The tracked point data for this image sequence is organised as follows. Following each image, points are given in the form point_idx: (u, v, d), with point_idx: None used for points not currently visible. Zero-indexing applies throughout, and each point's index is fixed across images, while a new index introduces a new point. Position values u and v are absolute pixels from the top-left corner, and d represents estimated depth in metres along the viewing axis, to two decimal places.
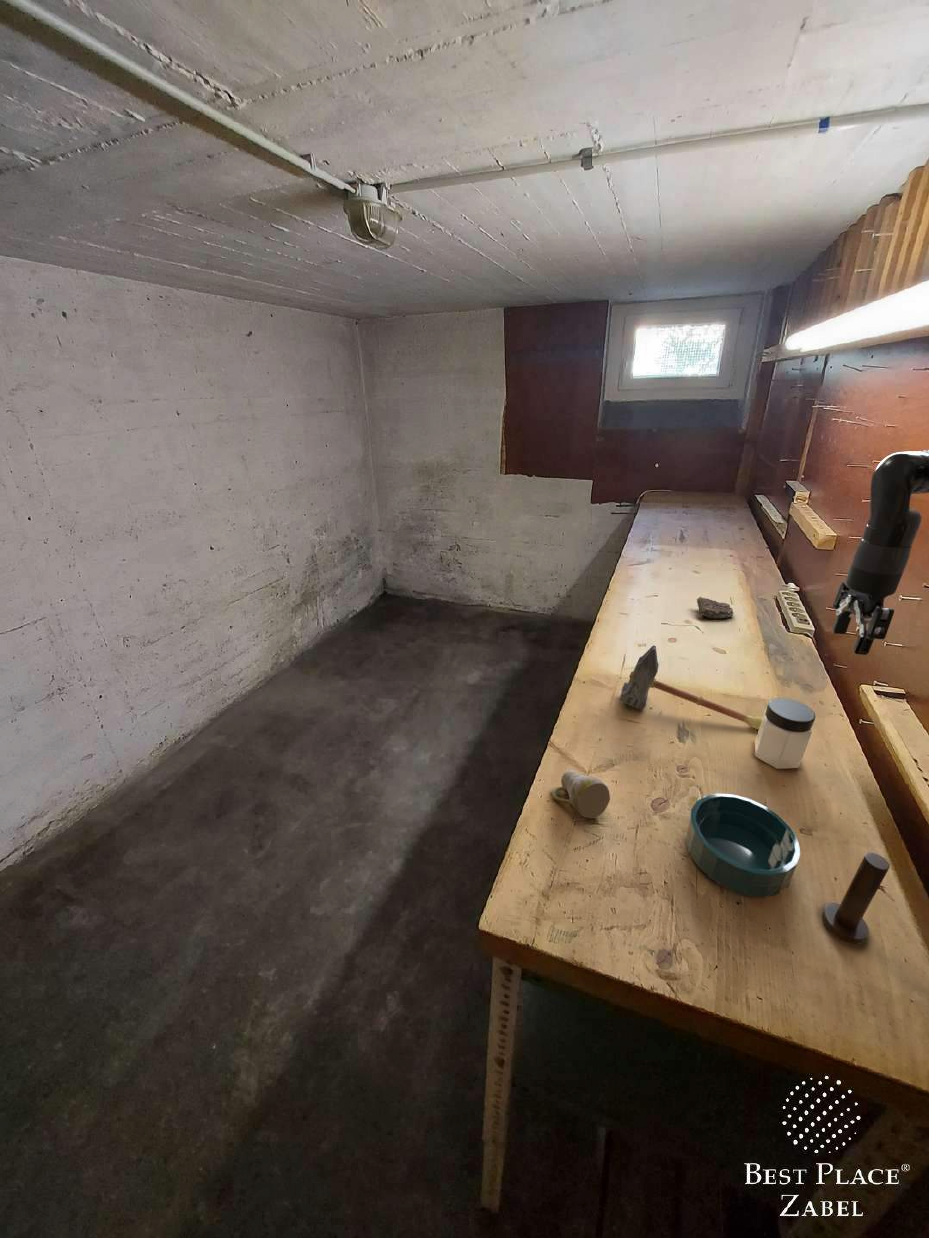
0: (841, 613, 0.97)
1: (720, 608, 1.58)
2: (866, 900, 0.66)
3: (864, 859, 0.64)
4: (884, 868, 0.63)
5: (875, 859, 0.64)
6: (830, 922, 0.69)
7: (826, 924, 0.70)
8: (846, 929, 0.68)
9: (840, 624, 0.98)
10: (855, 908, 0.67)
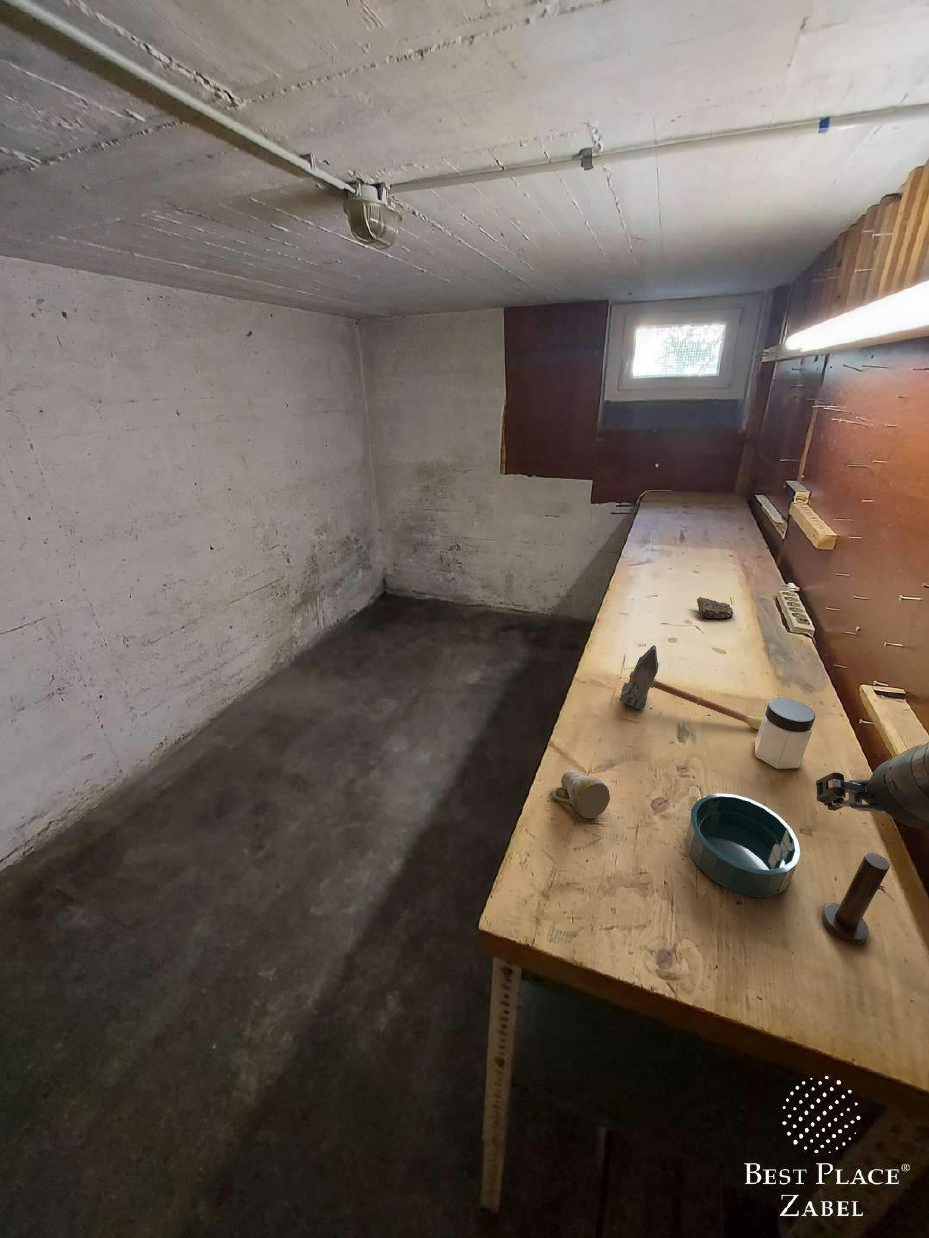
0: None
1: (720, 608, 1.58)
2: (866, 900, 0.66)
3: (864, 859, 0.64)
4: (884, 868, 0.63)
5: (875, 859, 0.64)
6: (830, 922, 0.69)
7: (826, 924, 0.70)
8: (846, 929, 0.68)
9: None
10: (855, 908, 0.67)
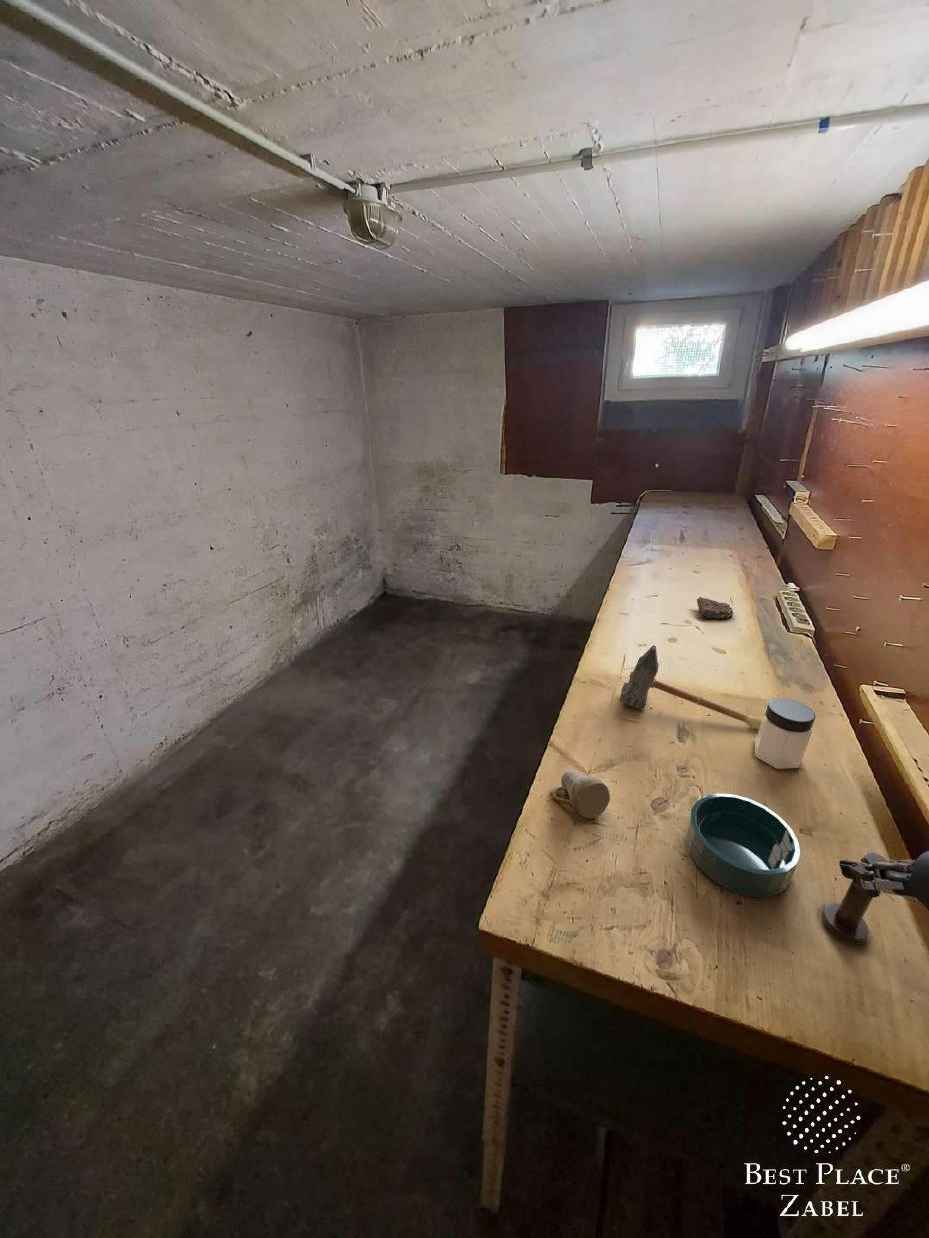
0: None
1: (720, 608, 1.58)
2: (866, 900, 0.66)
3: (864, 859, 0.64)
4: None
5: (875, 859, 0.64)
6: (830, 922, 0.69)
7: (826, 924, 0.70)
8: (846, 929, 0.68)
9: None
10: (855, 908, 0.67)
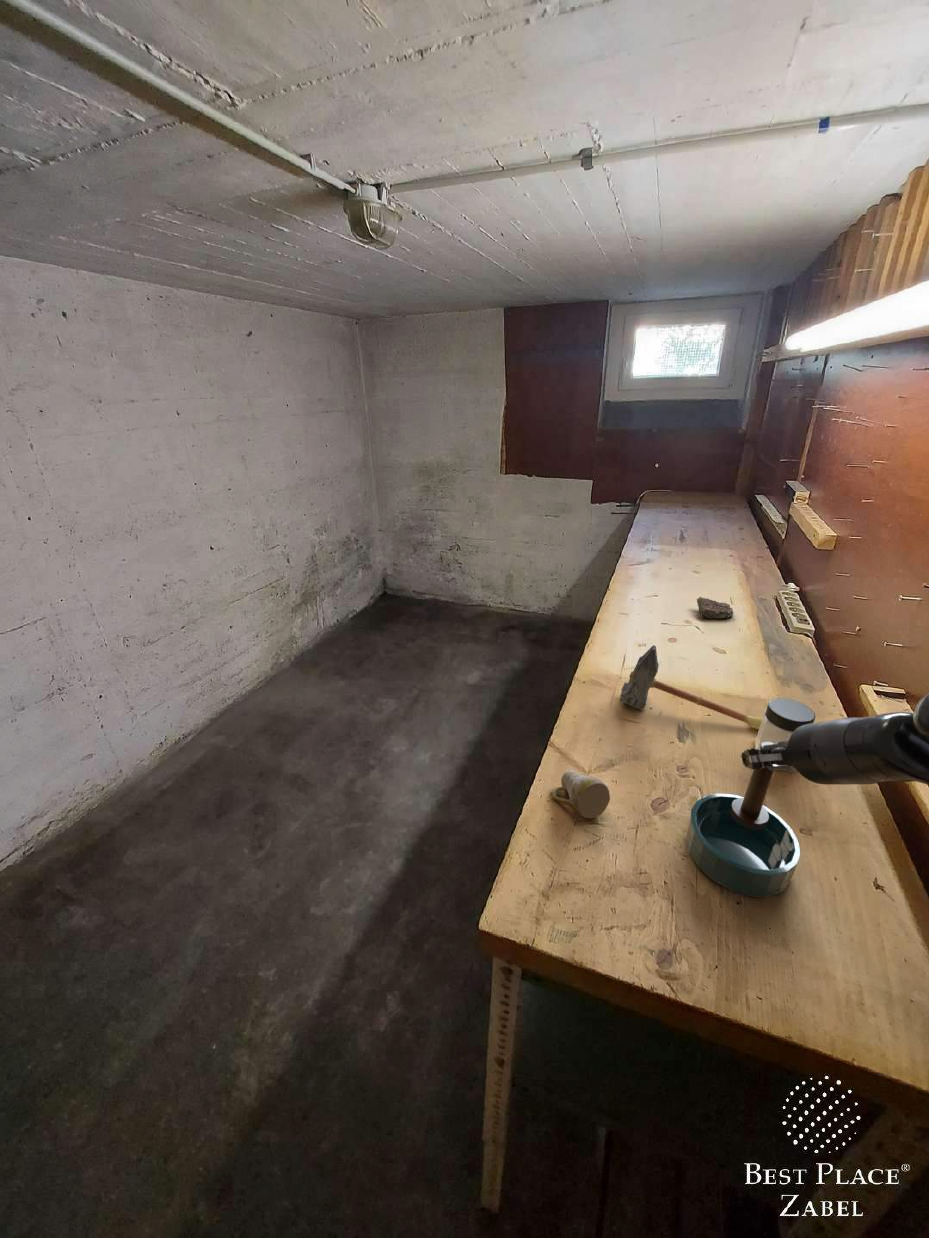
0: None
1: (720, 608, 1.58)
2: (763, 786, 0.72)
3: (760, 747, 0.71)
4: None
5: None
6: (735, 811, 0.76)
7: (732, 814, 0.76)
8: (749, 817, 0.75)
9: None
10: (754, 795, 0.73)
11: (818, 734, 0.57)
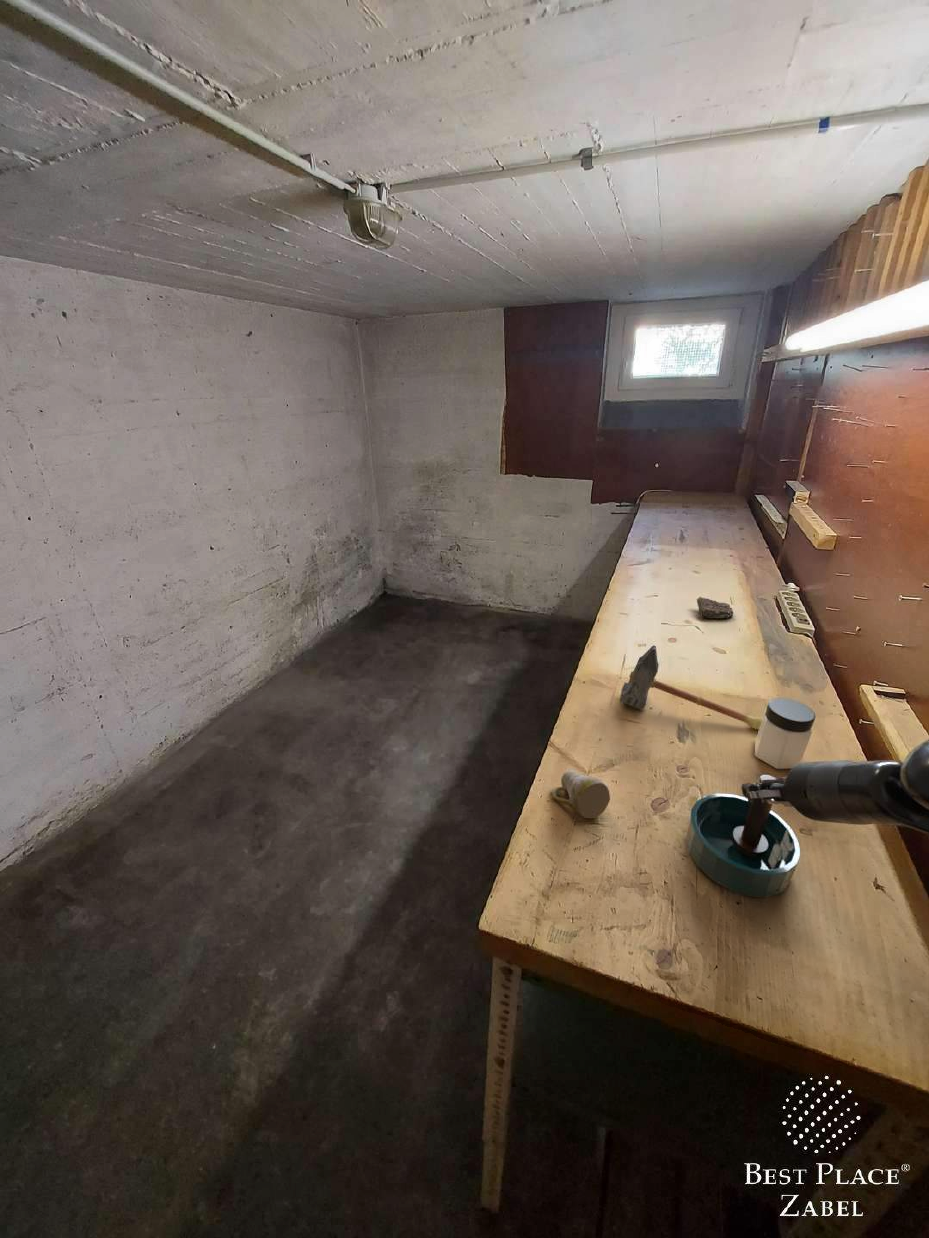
0: None
1: (720, 608, 1.58)
2: (762, 816, 0.75)
3: (759, 780, 0.74)
4: None
5: None
6: (736, 840, 0.79)
7: (733, 842, 0.80)
8: (749, 845, 0.78)
9: None
10: (754, 825, 0.77)
11: (814, 775, 0.61)
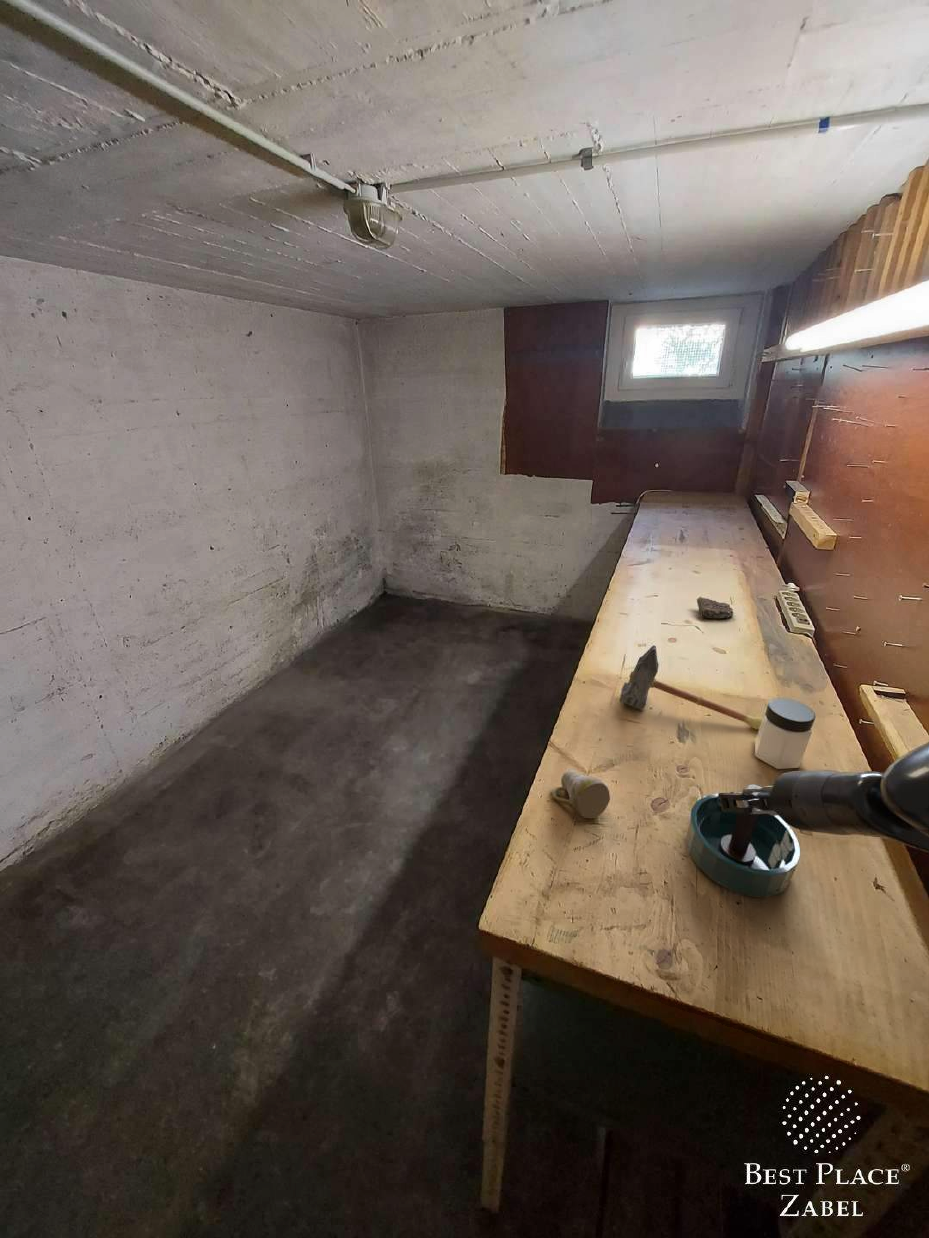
0: None
1: (720, 608, 1.58)
2: (749, 826, 0.76)
3: None
4: None
5: None
6: (724, 848, 0.80)
7: (721, 851, 0.80)
8: (736, 854, 0.79)
9: None
10: (742, 834, 0.77)
11: (799, 785, 0.61)
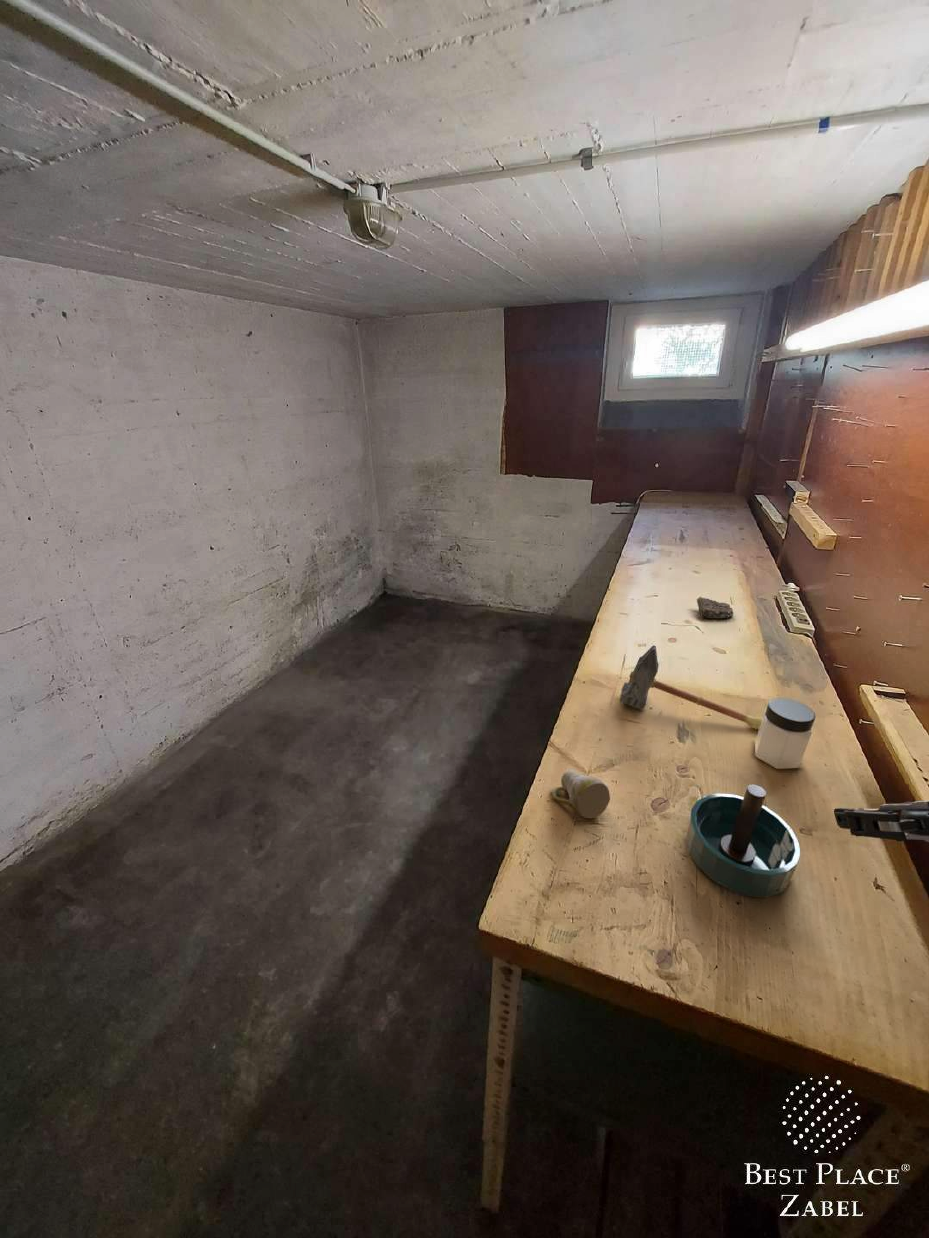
0: None
1: (720, 608, 1.58)
2: (749, 826, 0.76)
3: (746, 790, 0.75)
4: (761, 796, 0.73)
5: (755, 789, 0.74)
6: (724, 848, 0.80)
7: (721, 851, 0.80)
8: (736, 854, 0.79)
9: None
10: (742, 834, 0.77)
11: None
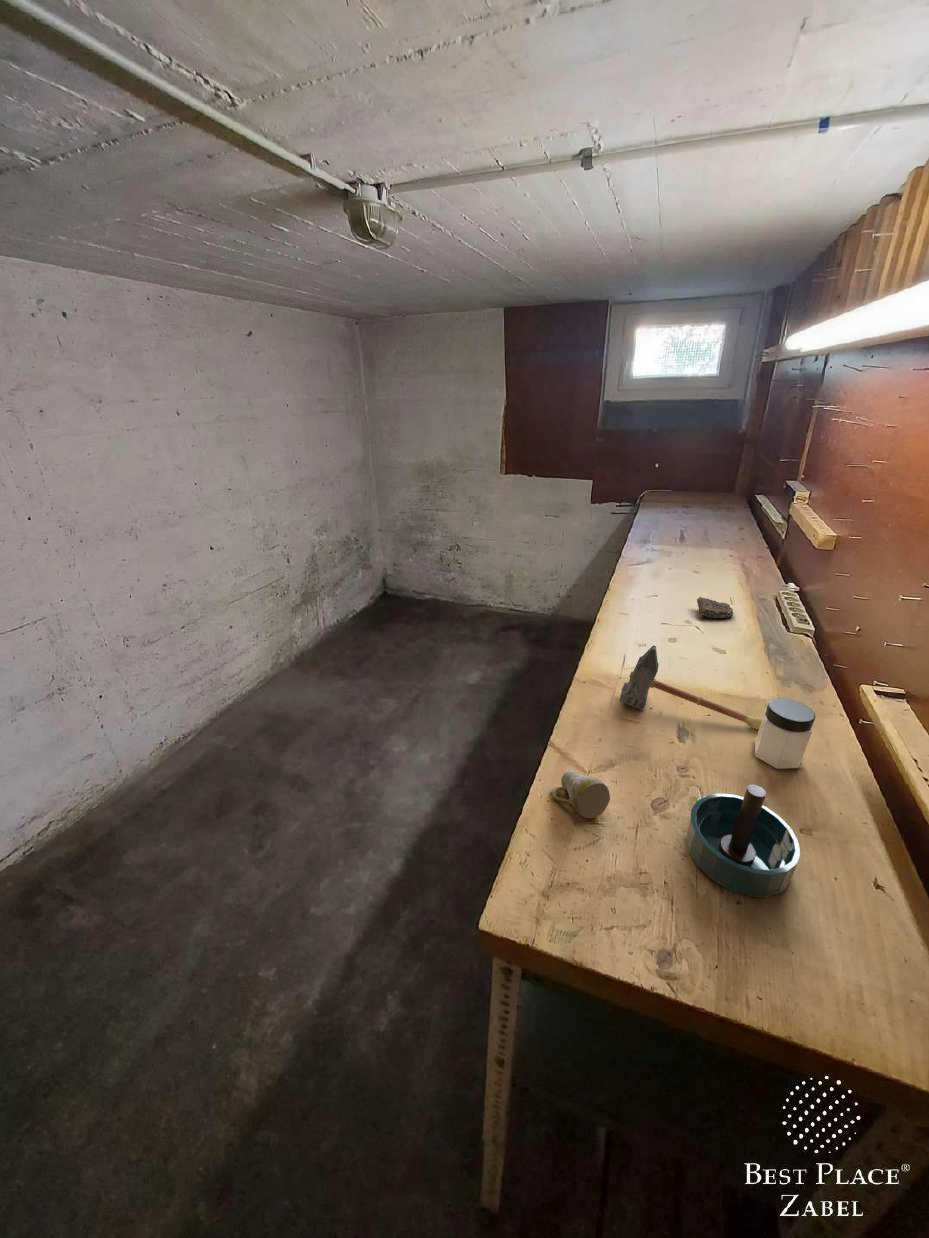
0: None
1: (720, 608, 1.58)
2: (749, 826, 0.76)
3: (746, 790, 0.75)
4: (761, 796, 0.73)
5: (755, 789, 0.74)
6: (724, 848, 0.80)
7: (721, 851, 0.80)
8: (736, 854, 0.79)
9: None
10: (742, 834, 0.77)
11: None
